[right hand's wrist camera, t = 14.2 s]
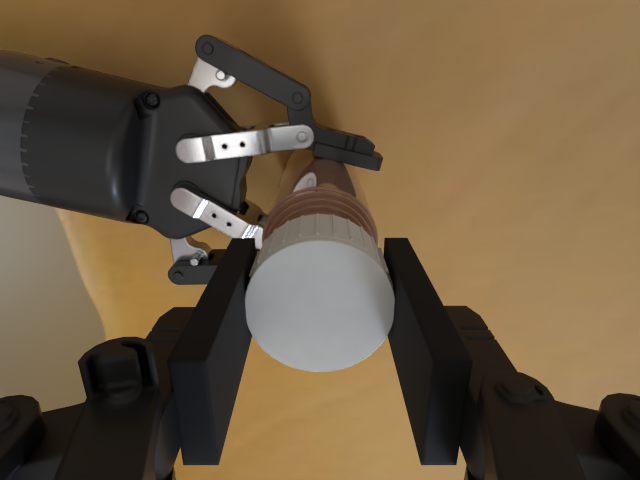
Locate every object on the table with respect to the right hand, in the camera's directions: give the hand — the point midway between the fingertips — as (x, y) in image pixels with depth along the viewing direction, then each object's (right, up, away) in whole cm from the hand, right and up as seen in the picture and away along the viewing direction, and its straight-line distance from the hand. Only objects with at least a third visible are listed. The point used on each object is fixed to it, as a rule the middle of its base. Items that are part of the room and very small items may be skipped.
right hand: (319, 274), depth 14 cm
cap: (0, -1, -2) cm, 2 cm away
